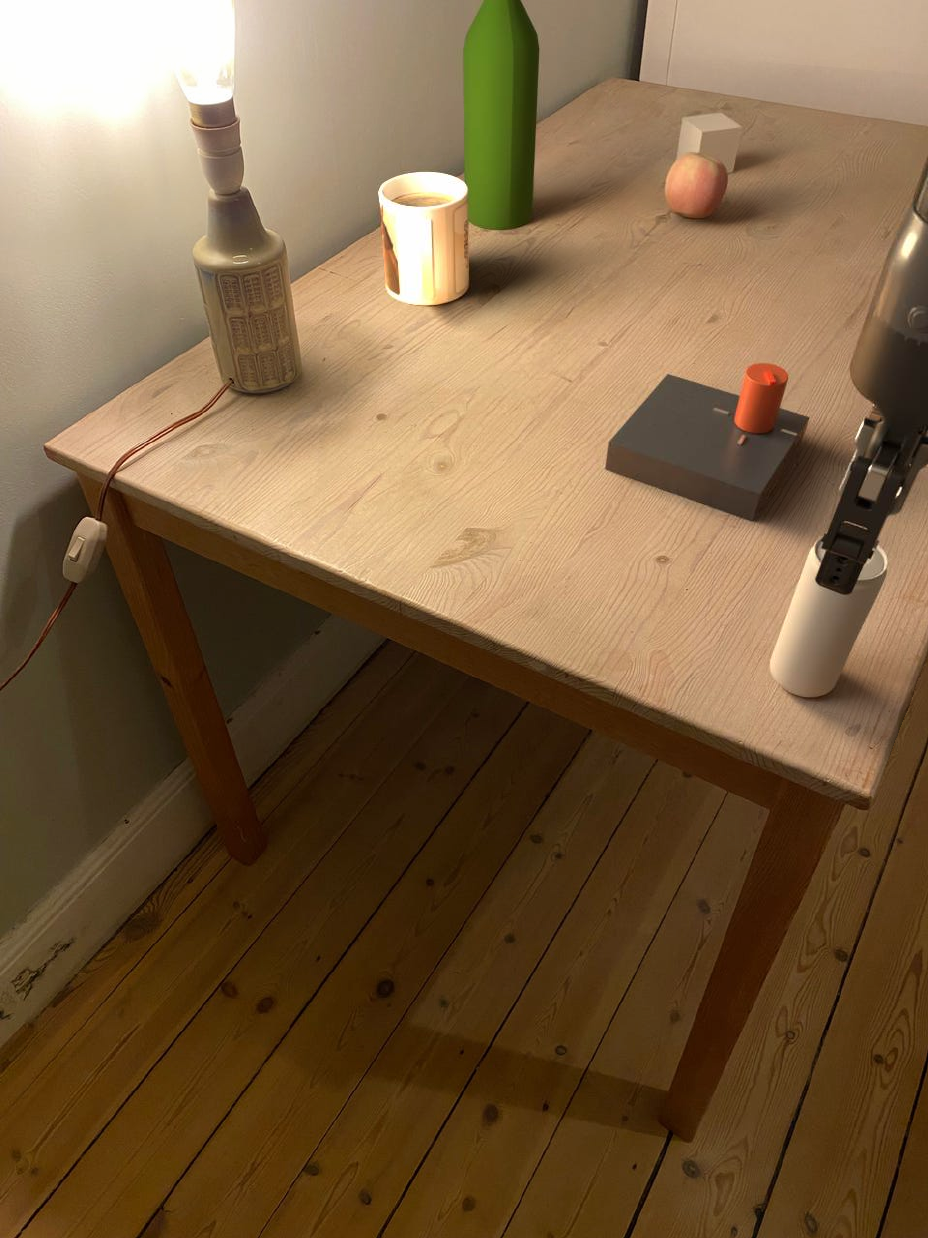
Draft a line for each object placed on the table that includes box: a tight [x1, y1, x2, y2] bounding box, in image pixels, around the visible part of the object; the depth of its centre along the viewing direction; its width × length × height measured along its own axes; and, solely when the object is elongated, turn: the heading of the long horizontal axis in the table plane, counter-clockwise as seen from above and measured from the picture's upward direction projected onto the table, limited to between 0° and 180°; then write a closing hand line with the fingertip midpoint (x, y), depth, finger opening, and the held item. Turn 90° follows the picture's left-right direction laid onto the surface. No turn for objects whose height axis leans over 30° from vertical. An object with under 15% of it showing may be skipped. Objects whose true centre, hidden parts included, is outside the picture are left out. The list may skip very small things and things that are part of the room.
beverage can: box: [769, 534, 890, 698], centre depth 62 cm, size 5×5×12 cm
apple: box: [664, 152, 729, 219], centre depth 116 cm, size 8×8×8 cm
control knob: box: [734, 362, 789, 434], centre depth 81 cm, size 4×4×5 cm
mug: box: [378, 171, 470, 306], centre depth 103 cm, size 10×12×11 cm
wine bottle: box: [462, 0, 540, 231], centre depth 108 cm, size 9×9×32 cm
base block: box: [604, 373, 810, 522], centre depth 83 cm, size 14×13×3 cm
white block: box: [675, 112, 743, 174], centre depth 128 cm, size 6×6×6 cm
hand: (853, 545), depth 57 cm, fingers open, 8 cm apart
